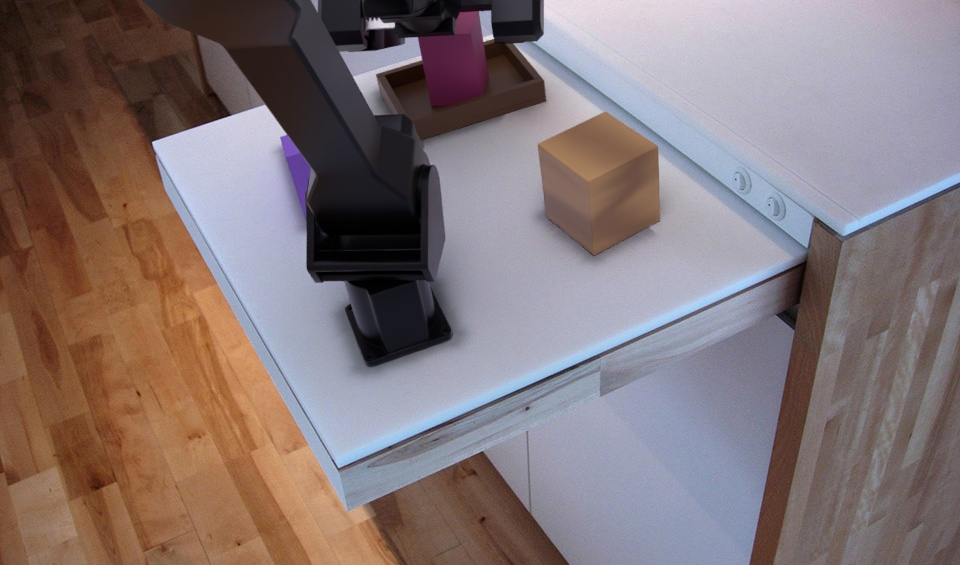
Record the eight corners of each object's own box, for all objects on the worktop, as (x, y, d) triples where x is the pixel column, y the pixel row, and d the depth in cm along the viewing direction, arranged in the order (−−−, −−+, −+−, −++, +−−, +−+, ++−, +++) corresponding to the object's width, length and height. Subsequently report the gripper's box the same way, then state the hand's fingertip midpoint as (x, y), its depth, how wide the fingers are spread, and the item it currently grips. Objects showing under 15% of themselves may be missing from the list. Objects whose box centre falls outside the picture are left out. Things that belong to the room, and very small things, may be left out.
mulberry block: (482, 104, 94) (470, 33, 89) (431, 106, 95) (417, 36, 90) (488, 76, 97) (478, 7, 93) (439, 79, 98) (426, 10, 94)
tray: (546, 100, 94) (544, 80, 92) (408, 144, 92) (403, 123, 90) (509, 54, 101) (506, 34, 100) (380, 93, 99) (375, 73, 97)
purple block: (386, 201, 86) (369, 132, 81) (307, 225, 85) (285, 157, 80) (356, 130, 95) (339, 65, 90) (284, 150, 94) (263, 86, 89)
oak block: (593, 256, 77) (587, 181, 72) (545, 216, 81) (536, 143, 77) (660, 220, 79) (658, 145, 74) (610, 183, 83) (605, 110, 79)
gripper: (529, -139, 76) (554, -59, 91) (291, -118, 80) (354, -45, 95) (529, 9, 76) (554, 64, 91) (290, 23, 79) (353, 74, 94)
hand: (452, 35), depth 93 cm, fingers open, 9 cm apart
